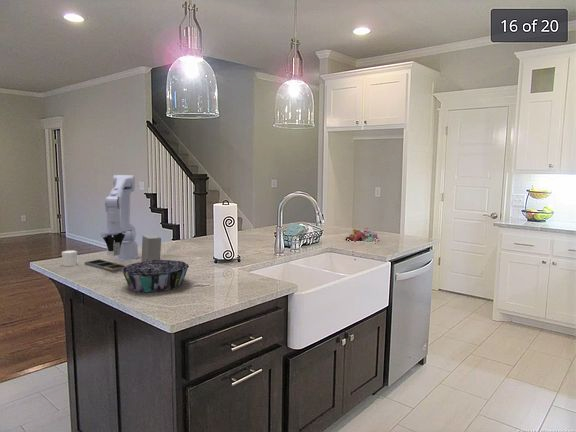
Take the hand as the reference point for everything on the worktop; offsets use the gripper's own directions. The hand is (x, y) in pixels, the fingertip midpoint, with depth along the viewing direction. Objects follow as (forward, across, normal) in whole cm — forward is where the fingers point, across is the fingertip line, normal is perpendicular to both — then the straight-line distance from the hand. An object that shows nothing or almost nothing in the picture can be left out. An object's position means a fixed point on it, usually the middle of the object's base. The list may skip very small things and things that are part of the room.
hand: (114, 250), depth 200 cm
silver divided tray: (+9, -2, -7) cm, 12 cm away
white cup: (+10, +4, -24) cm, 26 cm away
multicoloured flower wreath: (+10, -136, +92) cm, 165 cm away
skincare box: (+10, -10, +13) cm, 19 cm away
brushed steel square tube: (+2, 0, 0) cm, 2 cm away
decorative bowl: (+10, +12, +33) cm, 37 cm away
